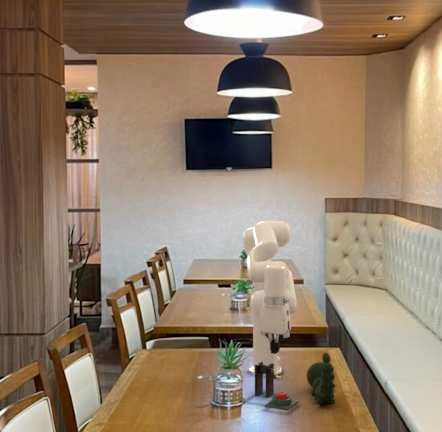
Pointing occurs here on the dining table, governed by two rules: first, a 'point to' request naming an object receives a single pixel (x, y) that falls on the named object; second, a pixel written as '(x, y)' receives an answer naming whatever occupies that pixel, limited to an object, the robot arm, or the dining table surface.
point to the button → (281, 395)
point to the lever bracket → (268, 380)
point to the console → (281, 403)
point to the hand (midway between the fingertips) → (274, 352)
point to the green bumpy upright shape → (322, 380)
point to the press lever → (263, 371)
